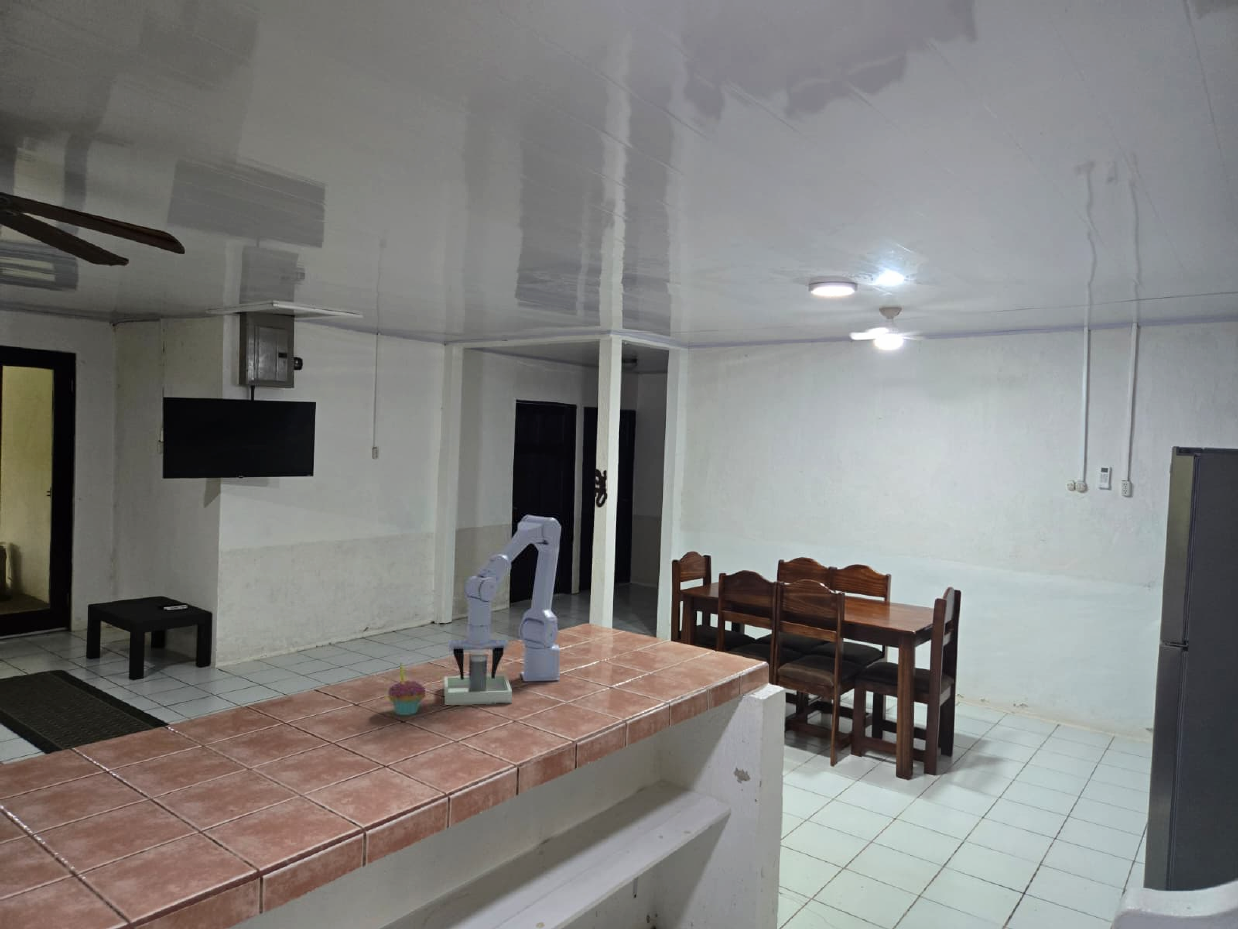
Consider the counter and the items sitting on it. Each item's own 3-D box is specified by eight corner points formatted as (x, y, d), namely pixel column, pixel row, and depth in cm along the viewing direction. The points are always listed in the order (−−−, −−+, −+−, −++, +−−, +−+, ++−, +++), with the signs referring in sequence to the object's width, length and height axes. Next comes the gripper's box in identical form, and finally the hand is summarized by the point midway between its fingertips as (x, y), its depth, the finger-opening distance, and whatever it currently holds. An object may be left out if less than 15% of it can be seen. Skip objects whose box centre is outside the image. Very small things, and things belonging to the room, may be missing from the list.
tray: (506, 686, 215) (506, 674, 215) (511, 703, 201) (512, 691, 201) (443, 688, 211) (444, 676, 211) (445, 706, 198) (445, 693, 198)
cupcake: (402, 720, 187) (404, 668, 186) (379, 712, 192) (381, 661, 191) (432, 711, 193) (434, 661, 193) (409, 703, 199) (410, 654, 198)
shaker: (485, 690, 209) (487, 652, 209) (486, 695, 205) (488, 656, 204) (467, 690, 208) (468, 652, 208) (468, 696, 204) (469, 657, 203)
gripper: (450, 628, 200) (448, 683, 201) (509, 627, 203) (508, 681, 204) (449, 622, 207) (447, 675, 207) (507, 621, 210) (505, 673, 211)
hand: (477, 678), depth 206 cm, fingers open, 7 cm apart
